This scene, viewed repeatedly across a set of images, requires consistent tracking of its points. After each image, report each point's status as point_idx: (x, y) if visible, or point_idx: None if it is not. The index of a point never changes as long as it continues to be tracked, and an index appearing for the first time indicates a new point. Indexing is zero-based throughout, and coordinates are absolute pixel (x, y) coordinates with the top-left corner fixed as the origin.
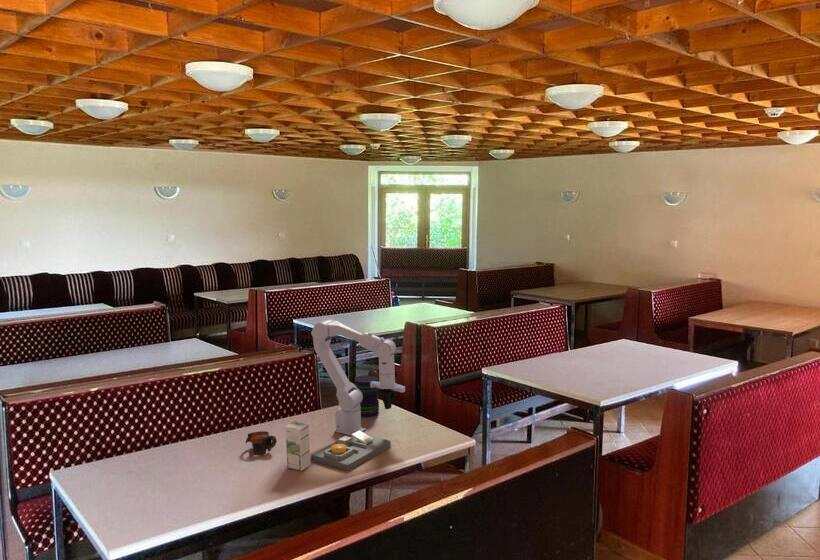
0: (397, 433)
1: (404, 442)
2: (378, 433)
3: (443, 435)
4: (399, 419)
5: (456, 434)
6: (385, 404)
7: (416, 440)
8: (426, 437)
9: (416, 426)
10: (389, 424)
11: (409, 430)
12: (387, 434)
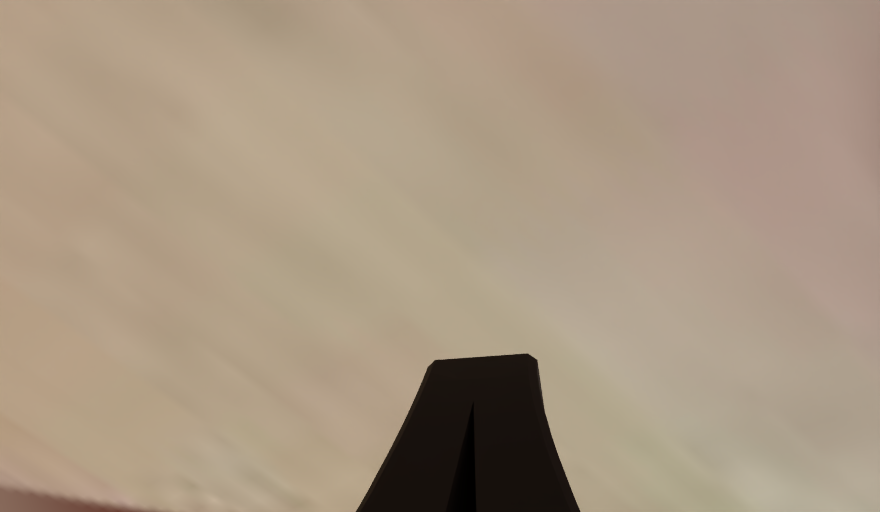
0: (459, 204)
1: (128, 27)
2: (699, 38)
3: (58, 418)
4: (745, 496)
5: (15, 481)
6: (478, 450)
7: (96, 176)
8: (110, 302)
9: None
10: (762, 354)
11: (416, 344)
12: (548, 96)
